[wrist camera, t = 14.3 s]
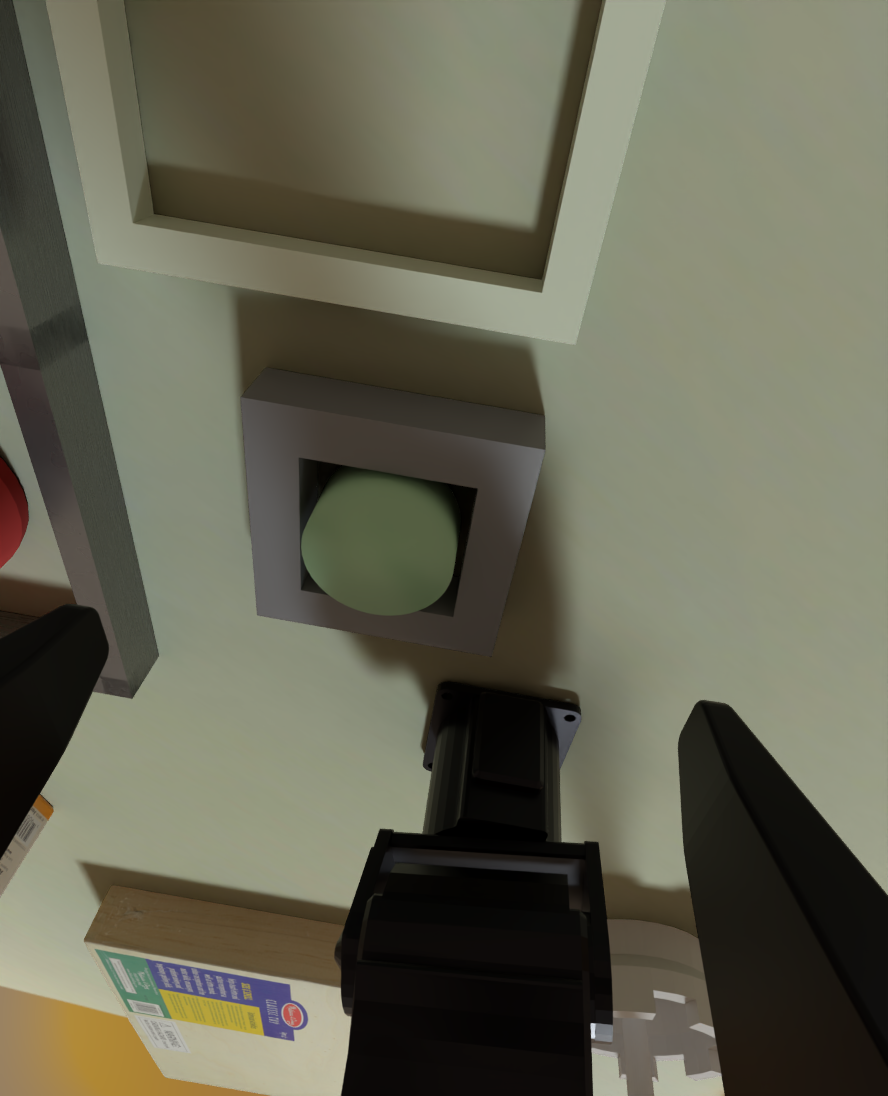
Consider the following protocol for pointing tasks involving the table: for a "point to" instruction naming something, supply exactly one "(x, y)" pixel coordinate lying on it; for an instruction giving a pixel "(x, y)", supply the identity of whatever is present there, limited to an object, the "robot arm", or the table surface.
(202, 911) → the puzzle box
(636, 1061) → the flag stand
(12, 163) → the grey divided tray
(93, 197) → the white square frame
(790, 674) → the table surface
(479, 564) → the button housing
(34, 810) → the supplement box
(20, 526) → the canned food
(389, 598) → the button
